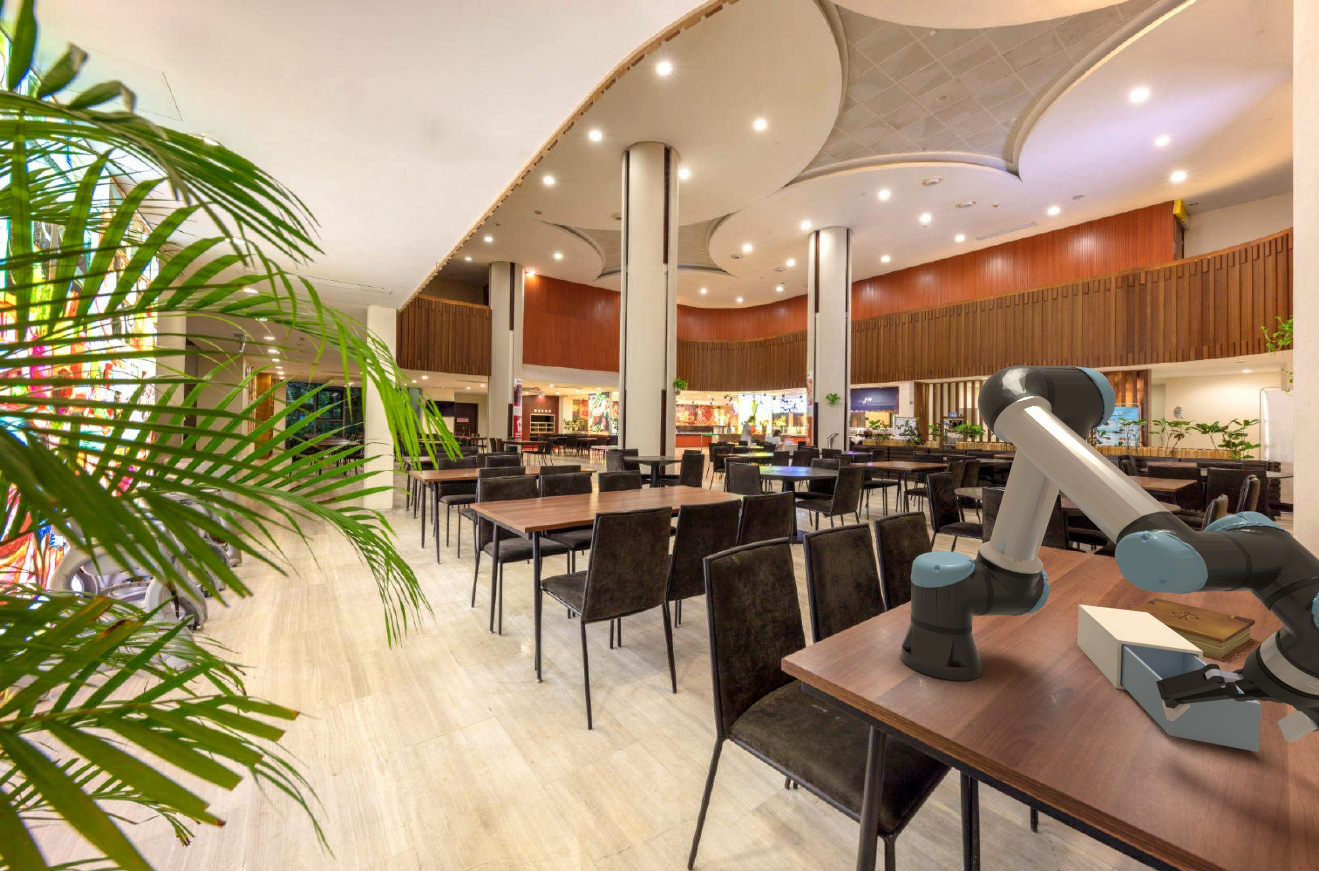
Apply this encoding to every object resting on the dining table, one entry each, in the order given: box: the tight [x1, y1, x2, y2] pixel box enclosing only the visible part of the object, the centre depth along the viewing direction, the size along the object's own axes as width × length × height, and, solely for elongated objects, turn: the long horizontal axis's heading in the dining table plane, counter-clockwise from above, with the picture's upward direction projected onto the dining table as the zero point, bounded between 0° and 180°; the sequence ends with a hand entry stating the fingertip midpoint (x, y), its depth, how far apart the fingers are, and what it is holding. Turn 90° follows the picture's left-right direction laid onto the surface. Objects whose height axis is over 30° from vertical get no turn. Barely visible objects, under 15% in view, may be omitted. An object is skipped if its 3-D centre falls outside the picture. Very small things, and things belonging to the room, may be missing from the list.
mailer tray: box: [1120, 644, 1262, 753], centre depth 94 cm, size 22×11×8 cm, turn 157°
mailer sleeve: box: [1076, 604, 1204, 691], centre depth 110 cm, size 22×13×10 cm, turn 157°
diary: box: [1128, 598, 1256, 663], centre depth 129 cm, size 23×19×6 cm
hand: (1224, 721), depth 81 cm, fingers open, 13 cm apart
